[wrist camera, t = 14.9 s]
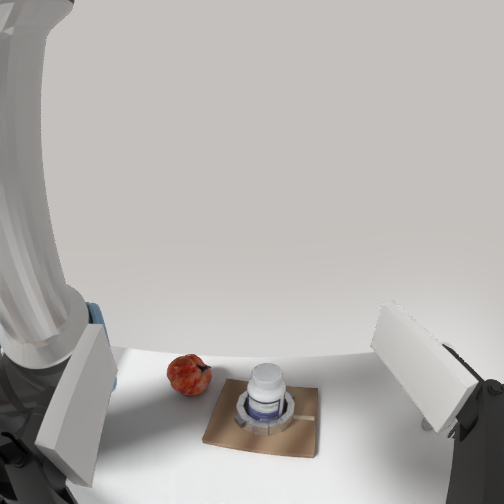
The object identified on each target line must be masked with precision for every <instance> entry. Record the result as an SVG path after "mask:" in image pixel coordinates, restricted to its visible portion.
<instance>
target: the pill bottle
mask: <svg viewBox="0 0 504 504" xmlns="http://www.w3.org/2000/svg"><path fill="white" fill-rule="evenodd" d="M285 392H286V385H285V382H284V380H283V379H282V370H281V369H280V368H279V367H278V366H277V365H275V364H271V363H263V364H260V365H257V366H256V367H255V368H254V369H253V372H252V378H251V379H250V381H249V382H248V386H247V398H248V415H249V416H250V417H252V418H253V419H255V420H259V421H267V422H269V421H272V420H276V419H279V418H281V417H282V415H283V409H284V400H285Z"/></svg>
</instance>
